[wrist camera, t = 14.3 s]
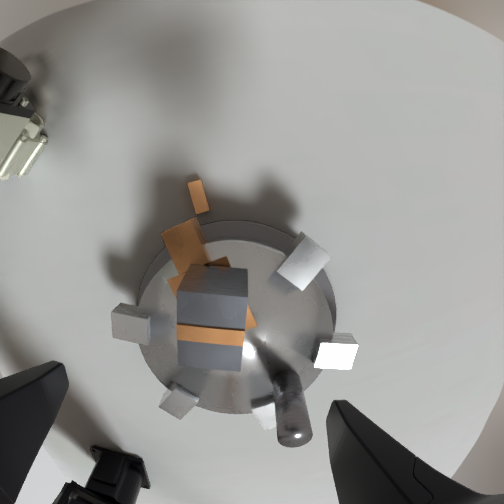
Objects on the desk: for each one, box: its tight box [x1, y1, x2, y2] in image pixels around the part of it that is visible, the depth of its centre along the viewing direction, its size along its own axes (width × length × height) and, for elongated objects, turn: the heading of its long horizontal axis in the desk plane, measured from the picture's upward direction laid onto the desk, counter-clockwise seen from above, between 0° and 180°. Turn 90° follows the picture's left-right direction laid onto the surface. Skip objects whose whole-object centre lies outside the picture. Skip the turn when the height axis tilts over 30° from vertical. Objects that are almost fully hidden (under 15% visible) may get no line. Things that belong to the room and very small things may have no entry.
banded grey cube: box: [176, 264, 248, 372], centre depth 14 cm, size 4×3×4 cm
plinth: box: [137, 180, 336, 332], centre depth 20 cm, size 16×14×1 cm
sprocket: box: [111, 217, 358, 447], centre depth 16 cm, size 14×15×7 cm
